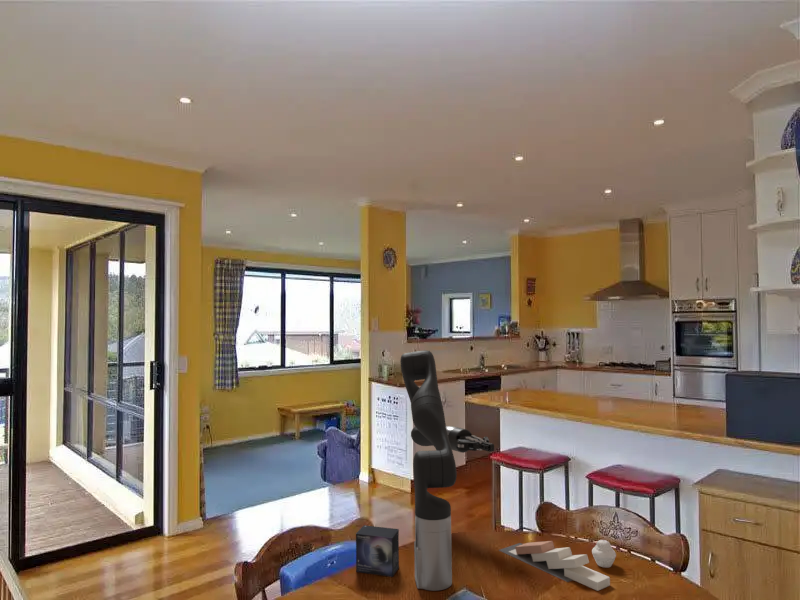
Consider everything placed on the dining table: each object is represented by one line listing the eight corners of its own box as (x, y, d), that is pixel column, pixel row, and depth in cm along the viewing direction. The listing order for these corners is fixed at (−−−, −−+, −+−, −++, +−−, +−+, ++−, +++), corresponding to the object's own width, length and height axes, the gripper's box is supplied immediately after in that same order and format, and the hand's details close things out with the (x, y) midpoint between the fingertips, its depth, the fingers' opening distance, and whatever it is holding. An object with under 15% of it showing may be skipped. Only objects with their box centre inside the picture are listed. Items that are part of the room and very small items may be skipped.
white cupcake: (595, 559, 154) (595, 533, 154) (618, 564, 150) (618, 538, 151) (589, 567, 149) (588, 541, 149) (613, 573, 145) (612, 546, 145)
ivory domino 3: (564, 568, 143) (597, 582, 135) (576, 563, 146) (609, 577, 138) (564, 575, 143) (597, 590, 135) (576, 570, 146) (610, 585, 138)
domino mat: (498, 551, 160) (498, 549, 160) (520, 544, 165) (520, 542, 165) (567, 583, 140) (567, 581, 140) (590, 574, 145) (590, 572, 145)
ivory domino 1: (531, 553, 152) (557, 551, 145) (543, 549, 155) (569, 547, 148) (533, 561, 152) (559, 559, 144) (545, 557, 155) (572, 555, 147)
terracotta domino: (515, 546, 157) (540, 545, 150) (527, 542, 160) (552, 540, 152) (516, 554, 157) (542, 553, 149) (529, 550, 159) (554, 548, 152)
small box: (354, 573, 147) (354, 533, 148) (363, 562, 154) (363, 524, 154) (392, 577, 144) (392, 537, 145) (399, 567, 150) (399, 528, 151)
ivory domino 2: (546, 561, 148) (573, 559, 140) (558, 556, 151) (586, 554, 143) (548, 569, 147) (576, 567, 139) (561, 564, 150) (589, 562, 142)
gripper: (439, 429, 179) (476, 438, 165) (470, 424, 187) (507, 432, 172) (439, 453, 179) (476, 463, 164) (470, 447, 186) (508, 457, 172)
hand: (492, 447), depth 168 cm, fingers closed
